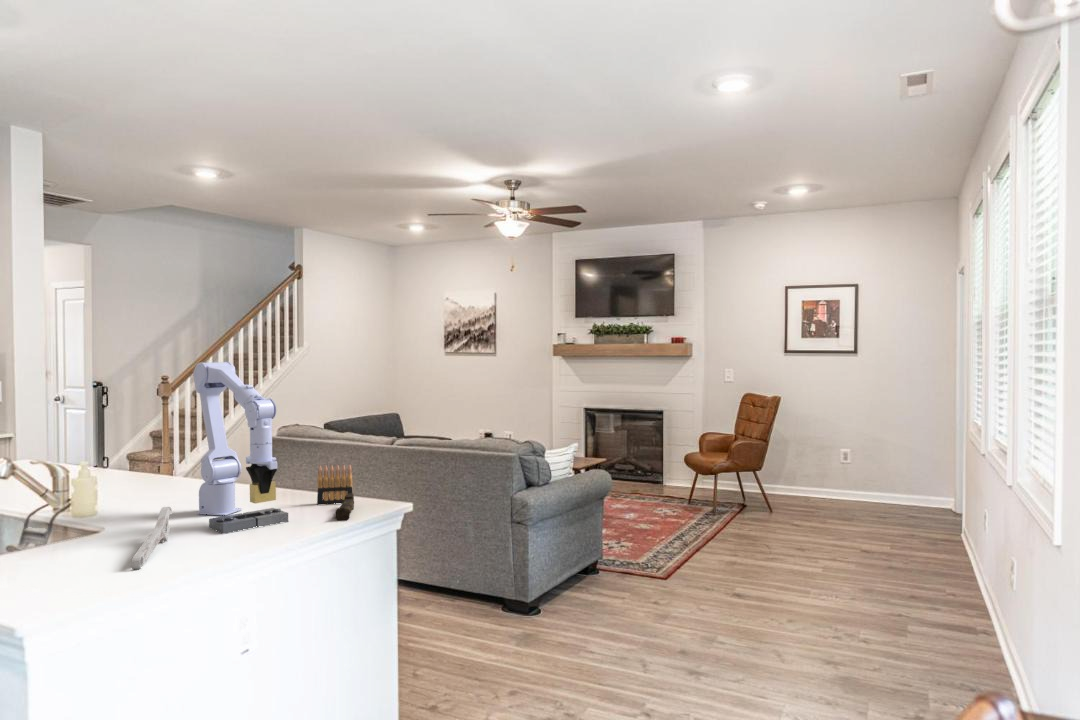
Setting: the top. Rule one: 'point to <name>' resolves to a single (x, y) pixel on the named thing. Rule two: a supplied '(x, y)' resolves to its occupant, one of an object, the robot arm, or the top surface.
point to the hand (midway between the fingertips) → (261, 492)
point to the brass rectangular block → (258, 497)
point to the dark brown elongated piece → (345, 508)
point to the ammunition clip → (334, 485)
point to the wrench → (153, 539)
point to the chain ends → (248, 520)
